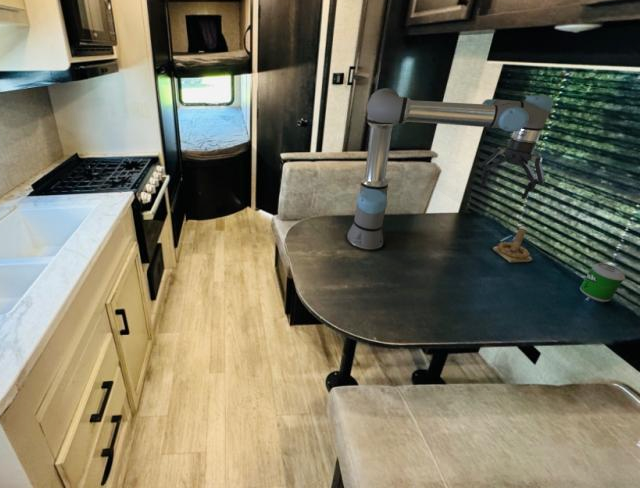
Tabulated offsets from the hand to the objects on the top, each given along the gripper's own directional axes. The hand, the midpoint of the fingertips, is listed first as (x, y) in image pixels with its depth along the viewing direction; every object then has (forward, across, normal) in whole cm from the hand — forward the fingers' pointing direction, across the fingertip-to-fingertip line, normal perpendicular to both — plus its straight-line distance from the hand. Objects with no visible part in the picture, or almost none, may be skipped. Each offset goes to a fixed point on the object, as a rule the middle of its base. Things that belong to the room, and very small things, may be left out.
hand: (502, 191), depth 123 cm
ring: (+25, +9, +7) cm, 28 cm away
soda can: (+28, +35, +2) cm, 44 cm away
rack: (+28, +9, +7) cm, 30 cm away
